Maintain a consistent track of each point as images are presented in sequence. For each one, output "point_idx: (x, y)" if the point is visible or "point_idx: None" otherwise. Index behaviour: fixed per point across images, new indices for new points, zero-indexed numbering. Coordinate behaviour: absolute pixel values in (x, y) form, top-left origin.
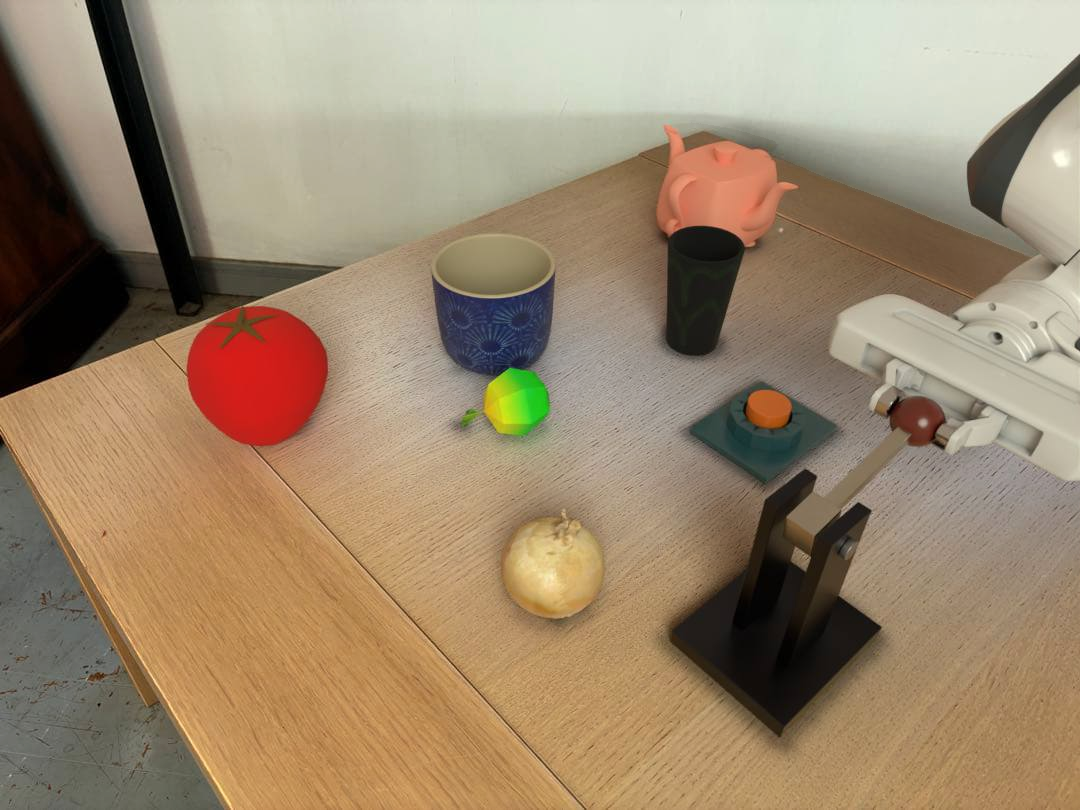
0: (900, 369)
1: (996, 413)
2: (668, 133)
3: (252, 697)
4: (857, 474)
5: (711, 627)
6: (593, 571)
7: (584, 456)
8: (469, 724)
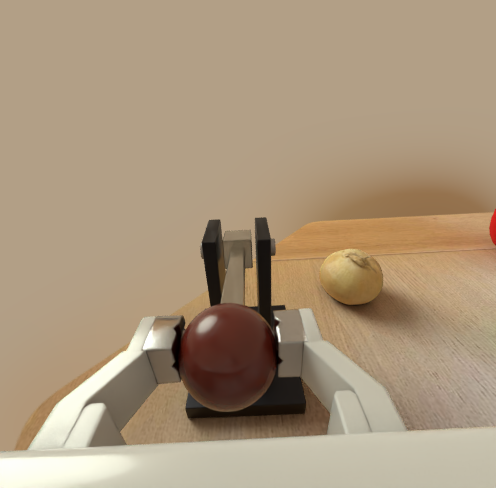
0: (349, 398)
1: (58, 440)
2: None
3: (341, 227)
4: (236, 265)
5: (272, 319)
6: (329, 271)
7: (493, 371)
8: (297, 253)
